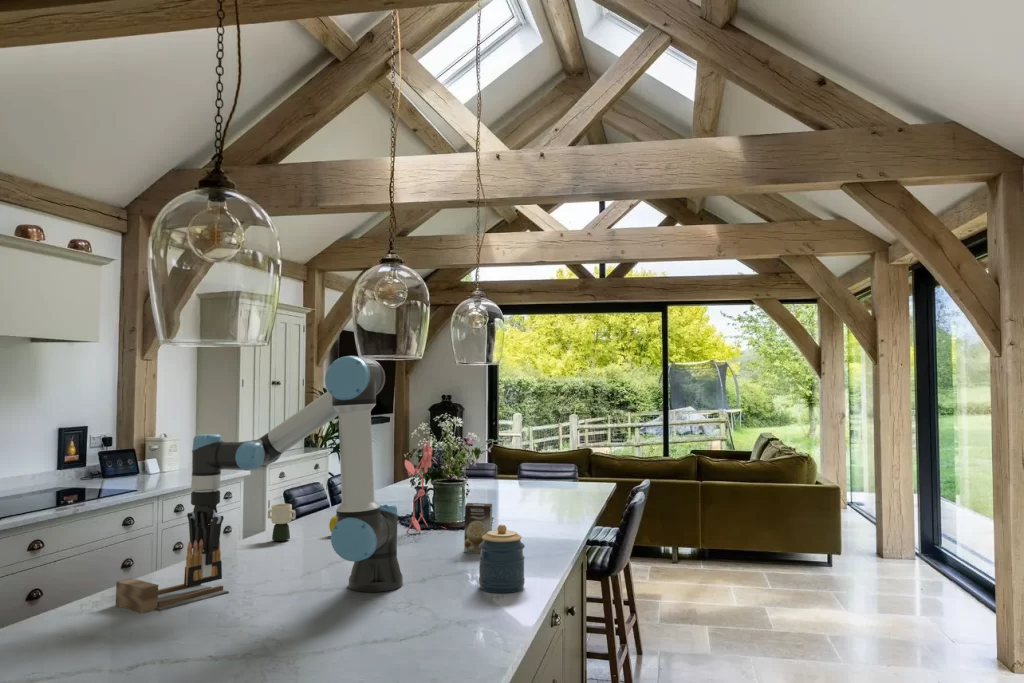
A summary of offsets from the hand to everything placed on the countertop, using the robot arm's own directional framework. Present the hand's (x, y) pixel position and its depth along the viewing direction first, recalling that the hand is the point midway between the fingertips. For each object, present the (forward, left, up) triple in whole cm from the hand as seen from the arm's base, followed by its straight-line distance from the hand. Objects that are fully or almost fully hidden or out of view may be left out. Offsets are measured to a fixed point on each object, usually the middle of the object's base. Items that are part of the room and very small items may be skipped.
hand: (203, 575), depth 208 cm
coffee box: (-34, -83, -4) cm, 90 cm away
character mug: (+36, -57, -4) cm, 68 cm away
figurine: (+4, -102, -4) cm, 102 cm away
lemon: (+26, -75, -4) cm, 80 cm away
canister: (-67, -48, -4) cm, 83 cm away
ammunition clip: (0, 0, -2) cm, 2 cm away
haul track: (0, +9, -4) cm, 10 cm away
